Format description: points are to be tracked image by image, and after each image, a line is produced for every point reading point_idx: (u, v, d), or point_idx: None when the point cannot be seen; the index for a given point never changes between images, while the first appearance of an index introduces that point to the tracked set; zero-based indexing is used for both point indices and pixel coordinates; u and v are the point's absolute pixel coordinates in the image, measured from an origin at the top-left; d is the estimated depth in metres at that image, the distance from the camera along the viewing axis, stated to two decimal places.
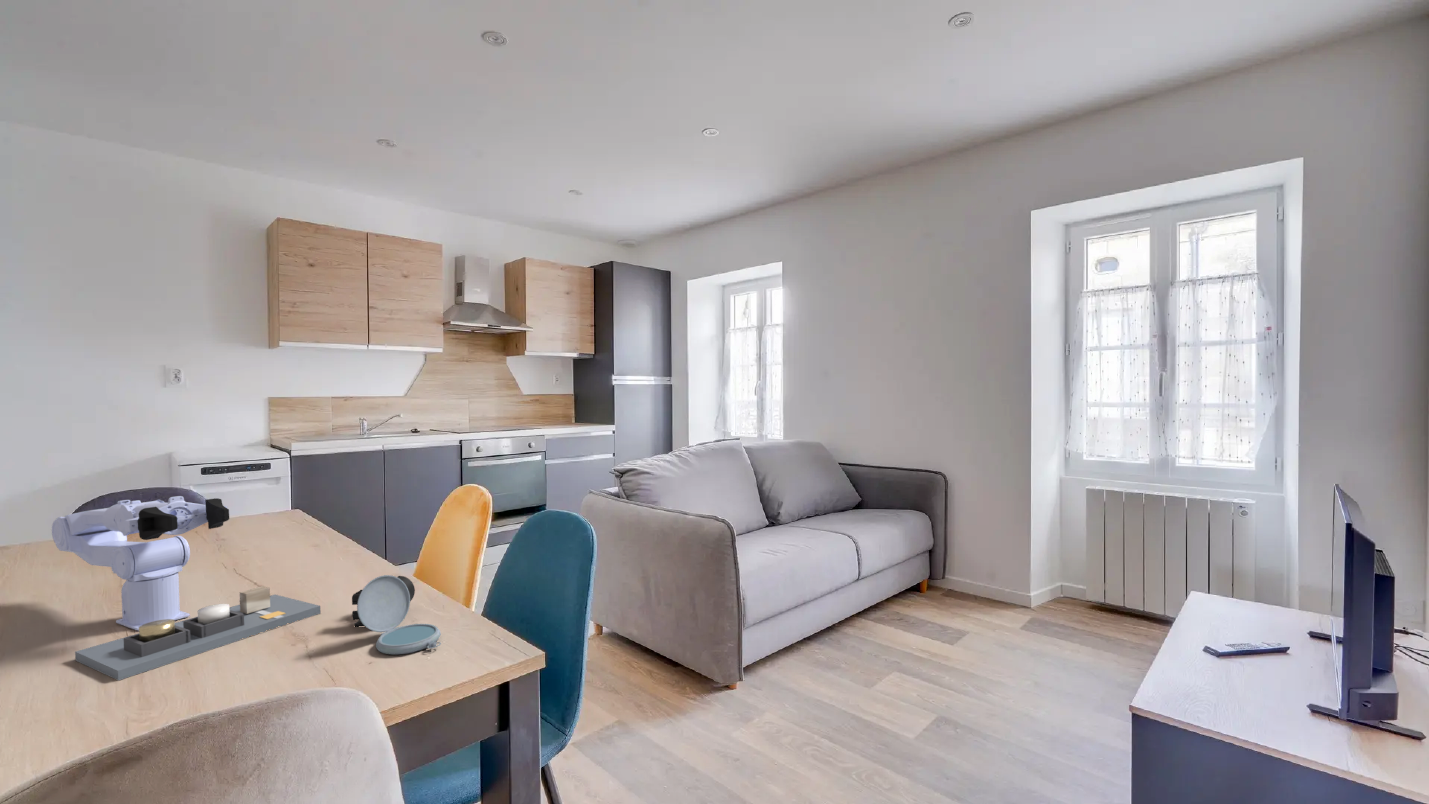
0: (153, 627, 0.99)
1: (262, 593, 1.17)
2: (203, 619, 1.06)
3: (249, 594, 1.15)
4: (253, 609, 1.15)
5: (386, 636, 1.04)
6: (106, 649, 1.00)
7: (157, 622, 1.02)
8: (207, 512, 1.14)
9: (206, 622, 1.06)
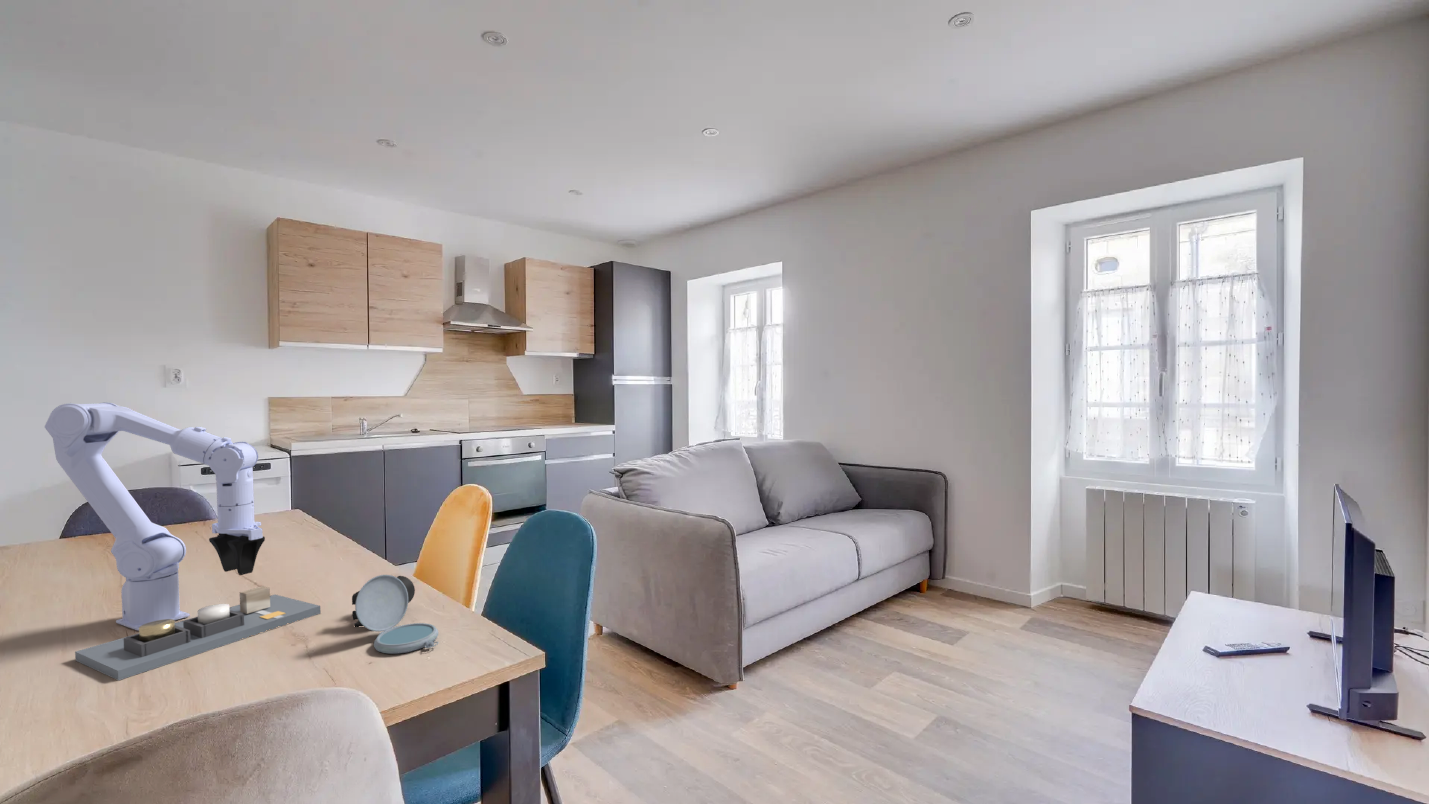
0: (153, 627, 0.99)
1: (262, 593, 1.17)
2: (203, 619, 1.06)
3: (249, 594, 1.15)
4: (253, 609, 1.15)
5: (384, 635, 1.04)
6: (106, 649, 1.00)
7: (157, 622, 1.02)
8: (232, 537, 1.20)
9: (206, 622, 1.06)
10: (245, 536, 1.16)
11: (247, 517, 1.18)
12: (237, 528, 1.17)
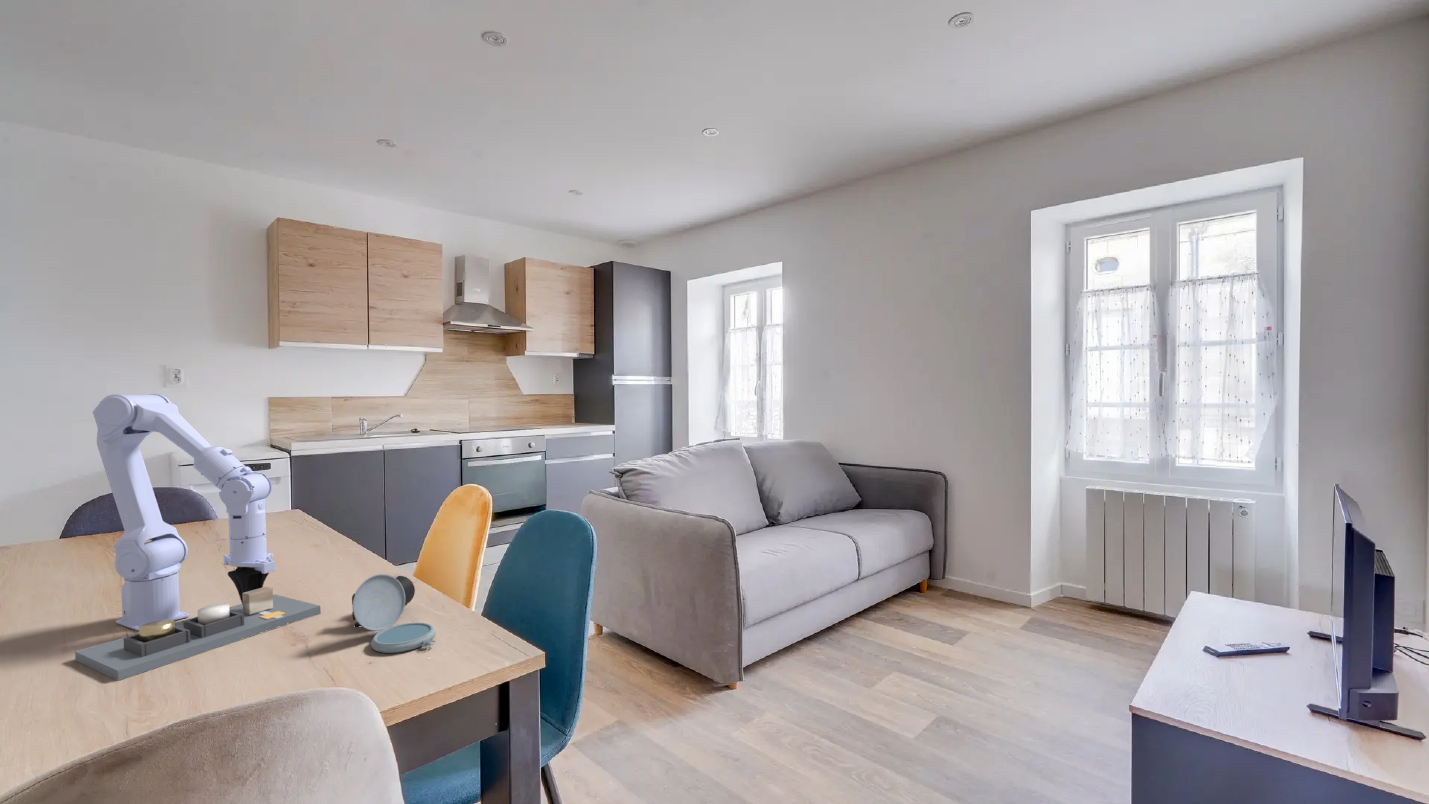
0: (153, 627, 0.99)
1: (265, 594, 1.16)
2: (203, 619, 1.06)
3: (252, 595, 1.14)
4: (256, 610, 1.15)
5: (381, 635, 1.04)
6: (106, 649, 1.00)
7: (157, 622, 1.02)
8: None
9: (206, 622, 1.06)
10: (251, 567, 1.16)
11: (259, 550, 1.16)
12: (249, 561, 1.15)
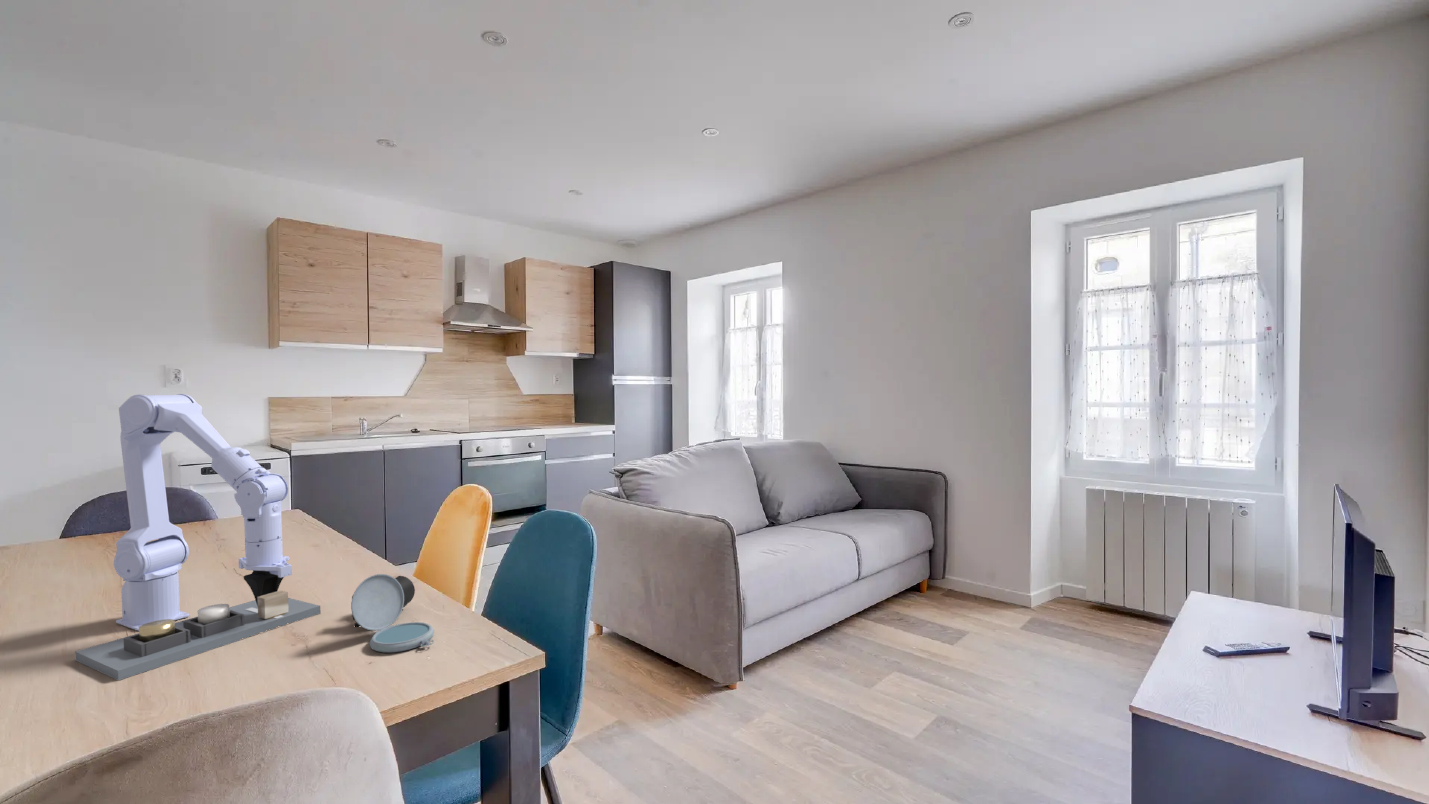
0: (153, 627, 0.99)
1: (280, 598, 1.14)
2: (203, 619, 1.06)
3: (267, 599, 1.12)
4: (271, 614, 1.13)
5: (380, 634, 1.05)
6: (106, 649, 1.00)
7: (157, 622, 1.02)
8: None
9: (206, 622, 1.06)
10: (266, 571, 1.13)
11: (275, 553, 1.14)
12: (265, 565, 1.12)
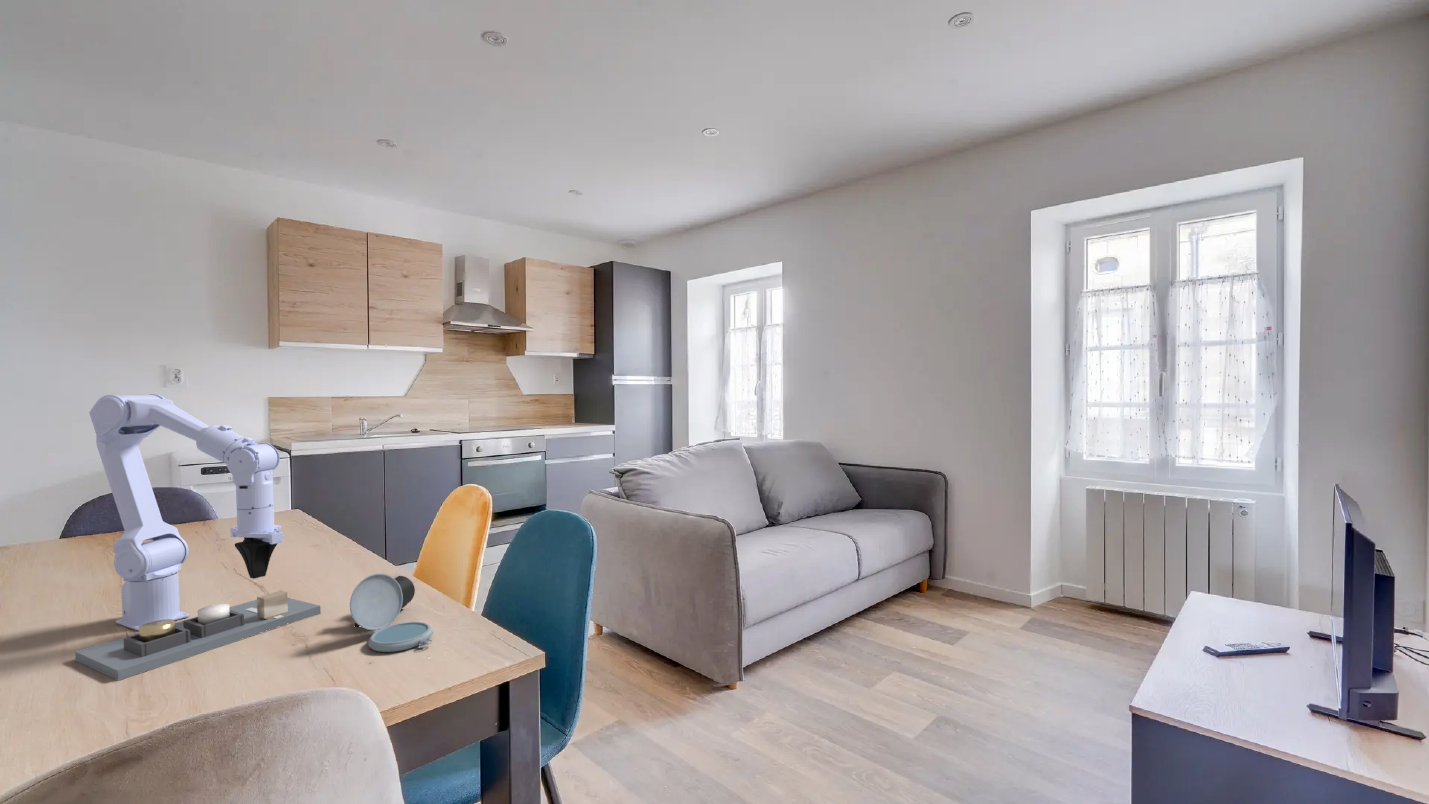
0: (153, 627, 0.99)
1: (280, 597, 1.14)
2: (203, 619, 1.06)
3: (267, 599, 1.12)
4: (271, 614, 1.13)
5: (378, 634, 1.05)
6: (106, 649, 1.00)
7: (157, 622, 1.02)
8: None
9: (206, 622, 1.06)
10: (258, 539, 1.14)
11: (267, 521, 1.15)
12: (257, 532, 1.13)
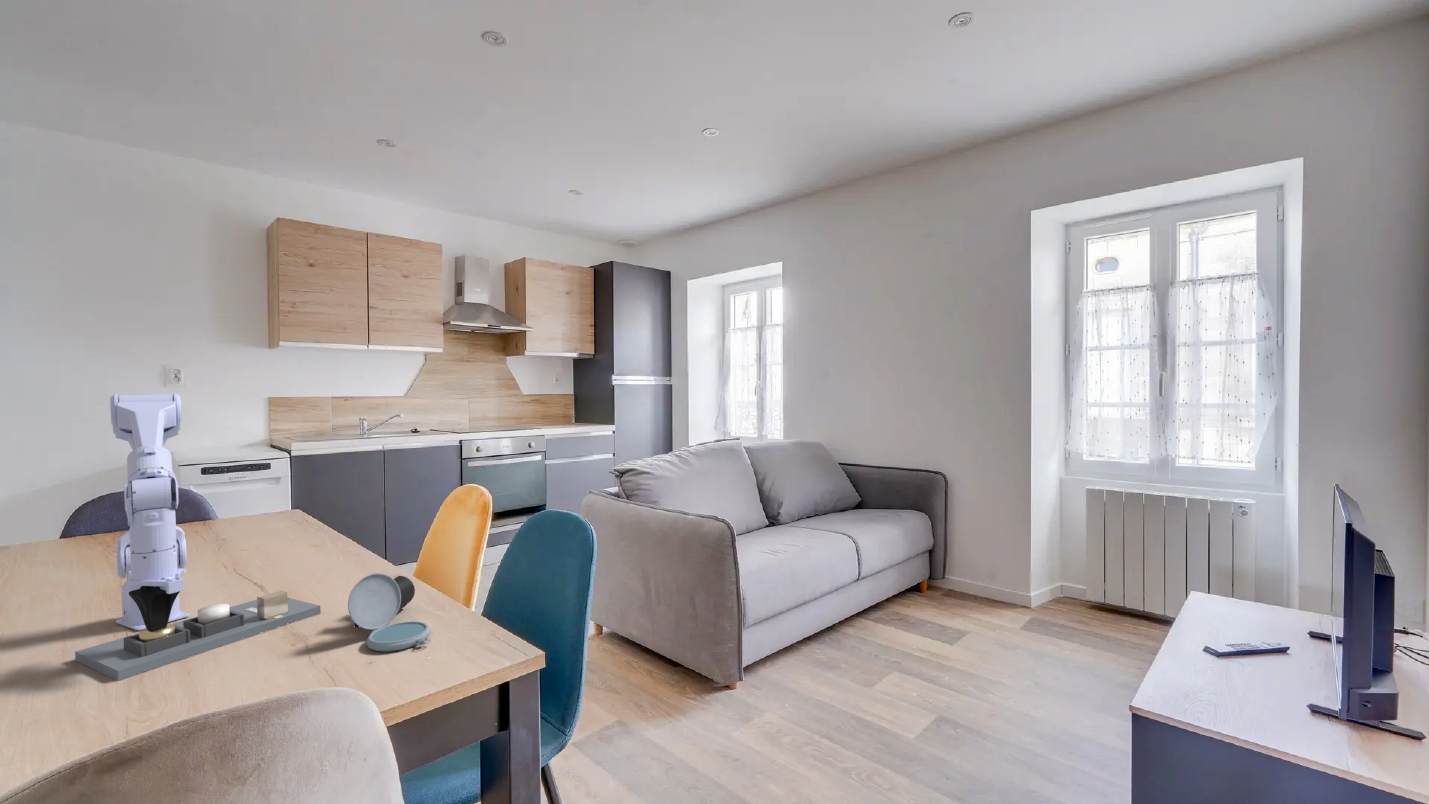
0: (154, 632, 0.99)
1: (280, 597, 1.14)
2: (203, 619, 1.06)
3: (267, 599, 1.12)
4: (271, 614, 1.13)
5: (377, 633, 1.05)
6: (106, 649, 1.00)
7: None
8: None
9: (206, 622, 1.06)
10: (156, 586, 0.99)
11: (166, 566, 1.00)
12: (153, 579, 0.98)
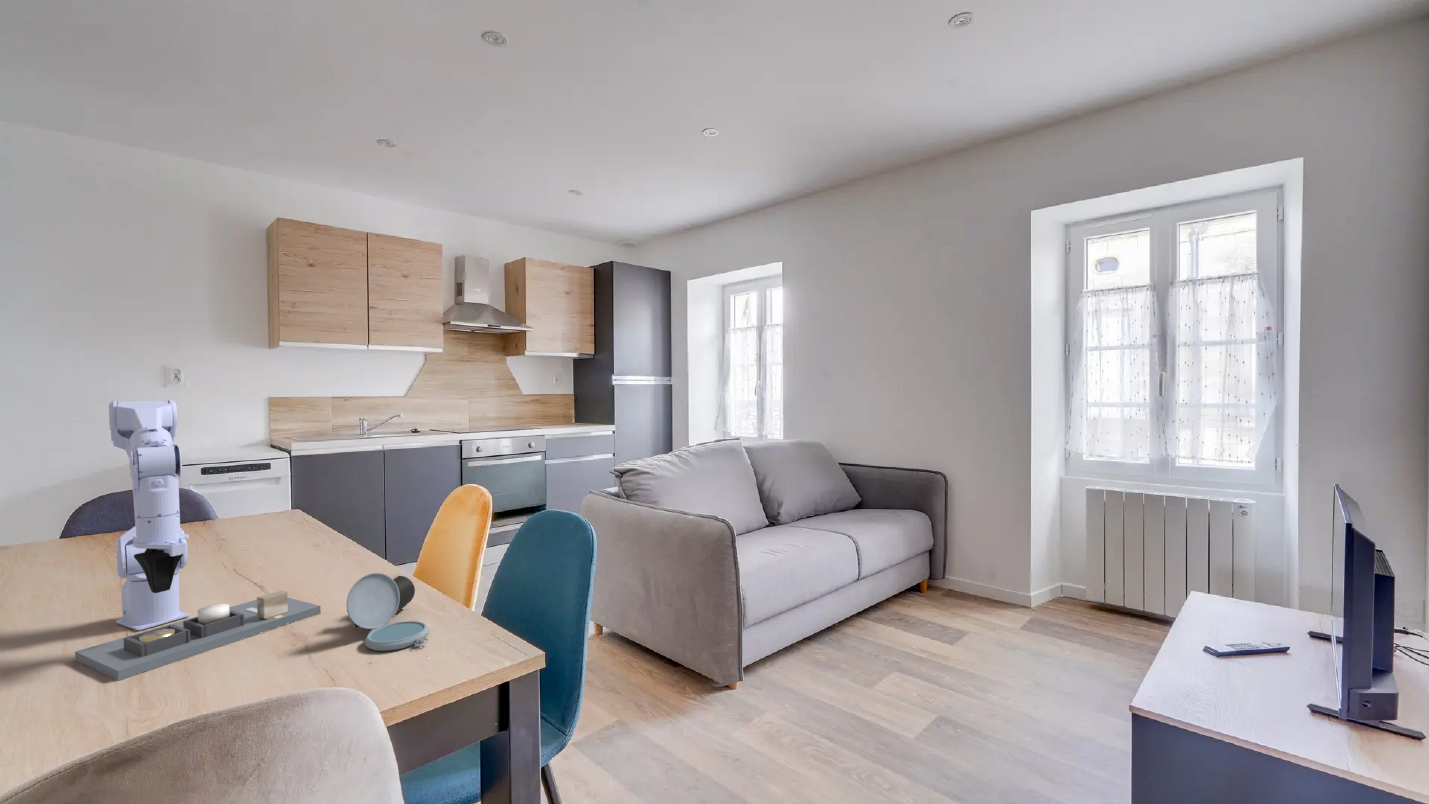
0: (154, 637, 0.99)
1: (280, 597, 1.14)
2: (203, 619, 1.06)
3: (267, 599, 1.12)
4: (271, 614, 1.13)
5: (375, 633, 1.05)
6: (106, 649, 1.00)
7: (157, 632, 1.02)
8: None
9: (206, 622, 1.06)
10: (160, 550, 1.04)
11: (170, 530, 1.05)
12: (157, 542, 1.03)
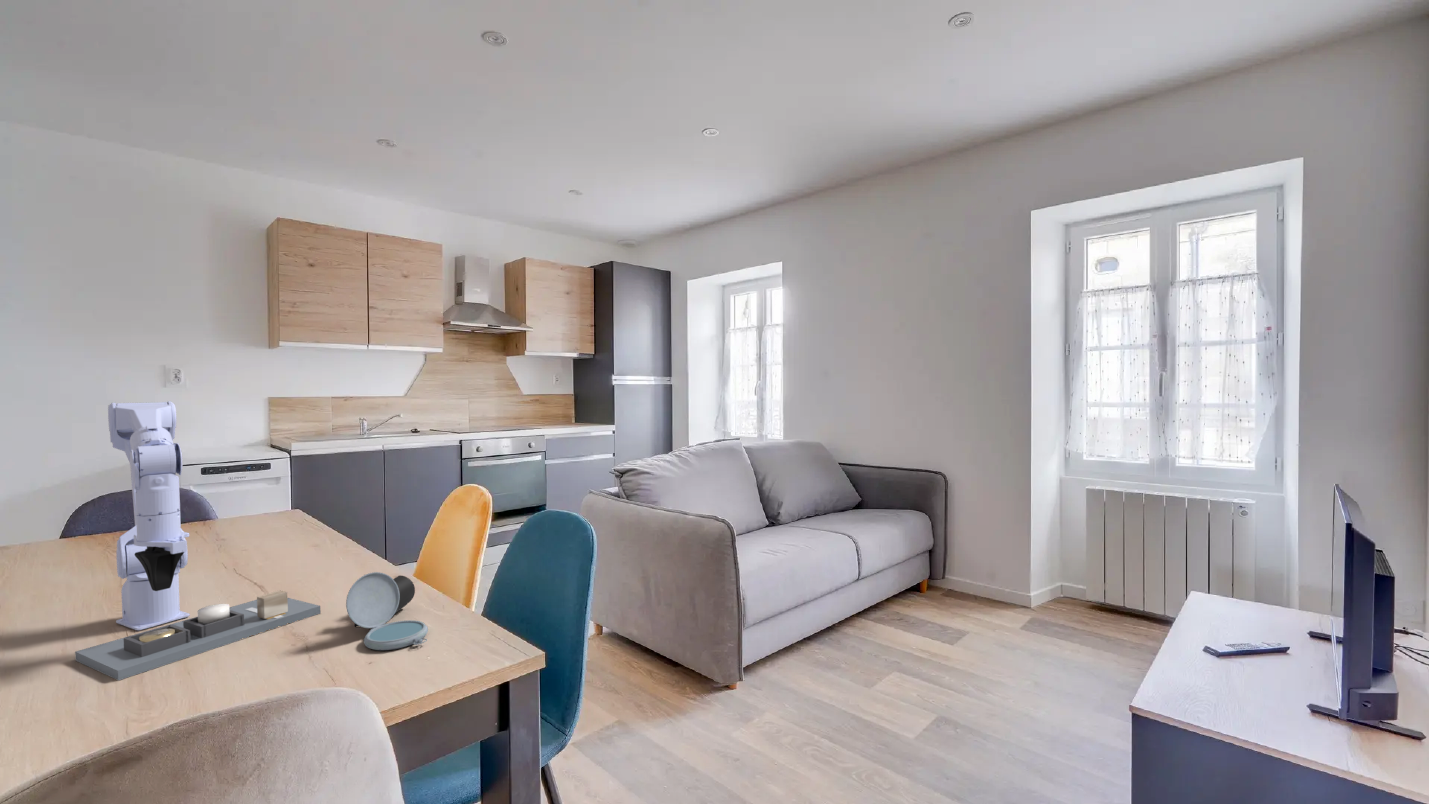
0: (154, 637, 0.99)
1: (280, 597, 1.14)
2: (203, 619, 1.06)
3: (267, 599, 1.12)
4: (271, 614, 1.13)
5: (374, 632, 1.05)
6: (106, 649, 1.00)
7: (157, 632, 1.02)
8: None
9: (206, 622, 1.06)
10: (161, 548, 1.05)
11: (170, 528, 1.05)
12: (158, 540, 1.04)
